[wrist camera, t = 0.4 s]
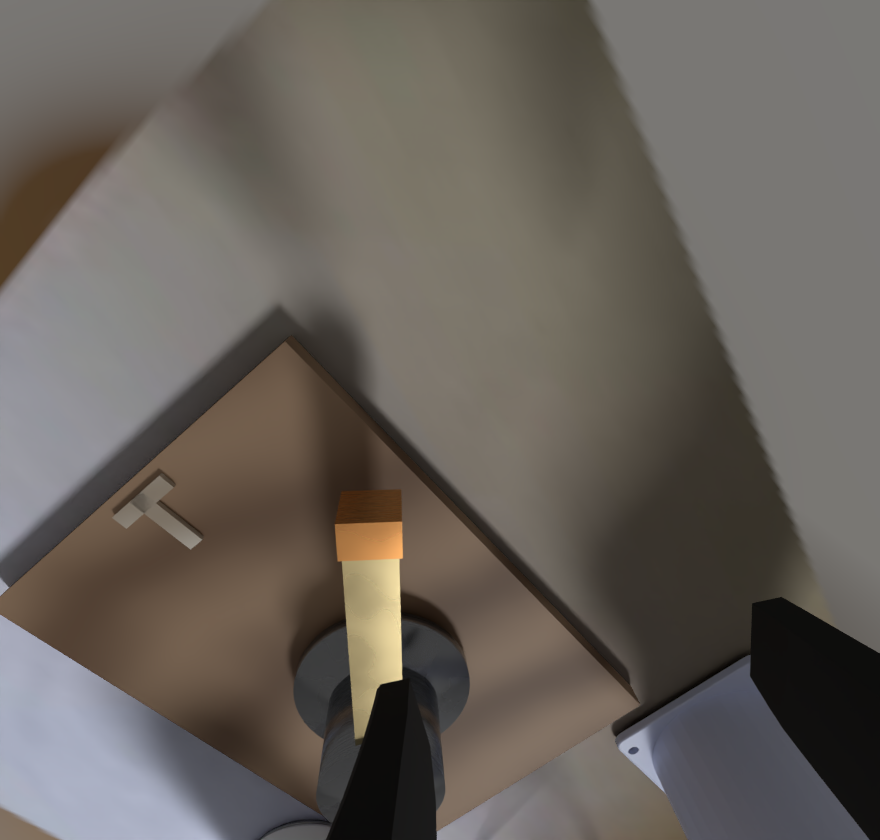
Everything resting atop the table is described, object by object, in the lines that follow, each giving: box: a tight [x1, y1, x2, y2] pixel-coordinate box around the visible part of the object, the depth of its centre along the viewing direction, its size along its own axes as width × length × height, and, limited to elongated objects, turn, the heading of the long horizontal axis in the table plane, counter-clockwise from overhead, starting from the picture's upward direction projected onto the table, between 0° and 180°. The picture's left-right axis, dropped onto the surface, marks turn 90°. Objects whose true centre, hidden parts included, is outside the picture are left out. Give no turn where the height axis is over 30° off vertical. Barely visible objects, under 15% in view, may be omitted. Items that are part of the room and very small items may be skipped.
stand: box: [0, 335, 640, 831], centre depth 21 cm, size 22×15×1 cm
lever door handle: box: [293, 489, 470, 823], centre depth 18 cm, size 13×7×4 cm, turn 0°
